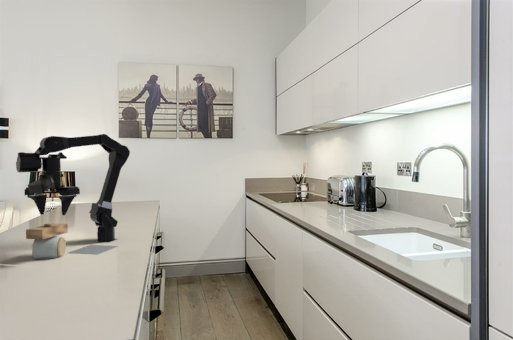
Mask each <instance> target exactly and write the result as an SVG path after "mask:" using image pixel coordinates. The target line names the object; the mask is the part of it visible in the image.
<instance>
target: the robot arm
mask: <svg viewBox="0 0 513 340" xmlns="http://www.w3.org/2000/svg"><path fill="white" fill-rule="evenodd" d="M94 145H95V146H96V145H99V146H100V147H101V148H102V149H103V150H104V151H105V152H106V153H107V154H108V163H109V164H108V169H107V172H106V176H105V179H104V183H103V186H102V190H101V192H100V195H99V199H98V200H97V201H96V202H92V203H91V206H90V207H91V208H90V210H89V212H88V213H89V216H90V220H91V221H92V222H94V224H95V226H96V227H97V233H96V235H97V237H96V238H97V240H95V241H94V242H95V243H111V242H114V241H117V240H118V238H116V236H115V233H116V232H115V227H117V225H118V220H117V219H115V218H114V217H113V215H112V214H113V205H112V201H113V197H114V194H115V190H116V187H117V184H118V180H119V177H120V173H121V171H122V168H123V167H124V165H125V164H126V163H127V161H128V158H130V154H131V152H130V151H131V150H130V149H129V148H128V146H127V145H123V144H121V143H120V142H118V141H116V140H115V139H113V138H111V137H110V136H109V135H108V134H105V133H102V134H97V135H95V134H94V135H85V136H76V137H75V136H74V137H67V136H59V135H58V136H54V135H51V136H46V137H43V138H42V139H41V140H40V142H39V147H38V148H37V149H36V150H35V151H34V152H23V151H22V152H17V157H16V161H15V167H16V171H17V173H37V172H39V170H41V169H42V170H41V172H42V173H41V174H39V176H38V179H37V180H34V181H33V182H30V183H28V184H27V187H25V189H24V196H27V198H29V199H31V200H32V201H34V203H35V205H36V208H37V210H38V212H39V214H40V215H41V216H42V215H45V210H46V203H47V197H48V195H47V194H59V195H60V196H58V199H59V200H60V203H61V204H60V205H61V215H62V216H66V214H67V212H68V210H69V208H70V206H71V204H72V202H73V200H74V199H75V198H77V195H80V193H81V191H80V188H79V186H65V185H64V184H62V178H63V177H64V173H62V171H61V160H62V159H63V160H65V159H68V158H67V156H66V155H64V153H63V152H62V151H64V150H68V149H71V148H76V147H87V146H94ZM53 153H57V154H53ZM42 156H43V157H42Z"/></svg>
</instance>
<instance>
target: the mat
mask: <svg viewBox="0 0 513 340" xmlns="http://www.w3.org/2000/svg"><path fill="white" fill-rule="evenodd" d="M117 247H119V245H102V244H89V245H86V246H82V247H81V248H80V247H79V248H78V249H74V250H72V251H69V252H67V254H76V255H77V254H78V255H79V254H80V255H100V254H103V253H105V252H108V251H109V250H112V249H116V248H117Z"/></svg>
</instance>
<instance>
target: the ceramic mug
mask: <svg viewBox="0 0 513 340" xmlns="http://www.w3.org/2000/svg"><path fill="white" fill-rule="evenodd" d="M66 247H67V243H66V239H65V238H64V237H62V236H60V235H57V236H53V237H50V238H46V239H33V243H32V247H31V251H32V252H31V253H32V258H33V259H34V260H38V259H40V260H42V259H56V258H57V259H58V258H61V257H63V256H64V255H65V252H66V250H67V249H66Z"/></svg>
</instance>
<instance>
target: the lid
mask: <svg viewBox="0 0 513 340" xmlns="http://www.w3.org/2000/svg"><path fill="white" fill-rule="evenodd" d="M68 226H69V225H68V223H56V222H54V223H52V222H51V223H44V224H43V225H39V226H35V227H32V228H27V229H25V238H26V240H35V239H46V238H50V237H53V236H61V235H63V234H67V233H68Z"/></svg>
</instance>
